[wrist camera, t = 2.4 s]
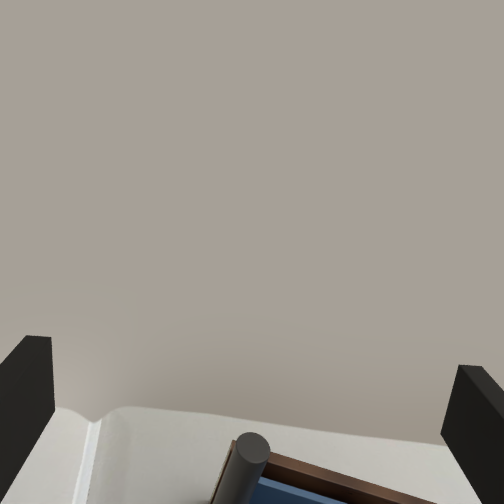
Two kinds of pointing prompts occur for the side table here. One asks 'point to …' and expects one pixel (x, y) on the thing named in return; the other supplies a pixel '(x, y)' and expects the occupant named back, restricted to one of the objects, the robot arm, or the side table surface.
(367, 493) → the walnut drawer box
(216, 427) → the side table surface
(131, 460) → the side table surface
